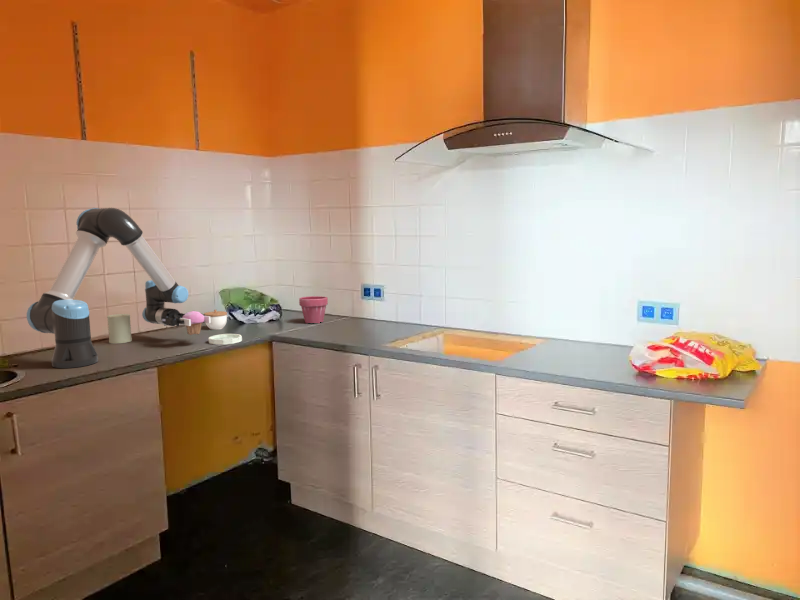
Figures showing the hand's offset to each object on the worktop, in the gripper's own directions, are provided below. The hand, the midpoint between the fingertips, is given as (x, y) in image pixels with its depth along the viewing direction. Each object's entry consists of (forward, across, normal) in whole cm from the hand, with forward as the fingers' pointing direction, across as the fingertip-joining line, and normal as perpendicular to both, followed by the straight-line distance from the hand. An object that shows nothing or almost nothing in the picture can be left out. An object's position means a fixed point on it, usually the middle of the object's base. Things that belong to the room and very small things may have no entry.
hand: (200, 321), depth 250 cm
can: (-40, +13, -11) cm, 43 cm away
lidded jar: (-30, -30, -10) cm, 43 cm away
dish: (0, -12, -10) cm, 16 cm away
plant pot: (-1, -68, -10) cm, 69 cm away
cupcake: (-5, 0, -6) cm, 8 cm away
